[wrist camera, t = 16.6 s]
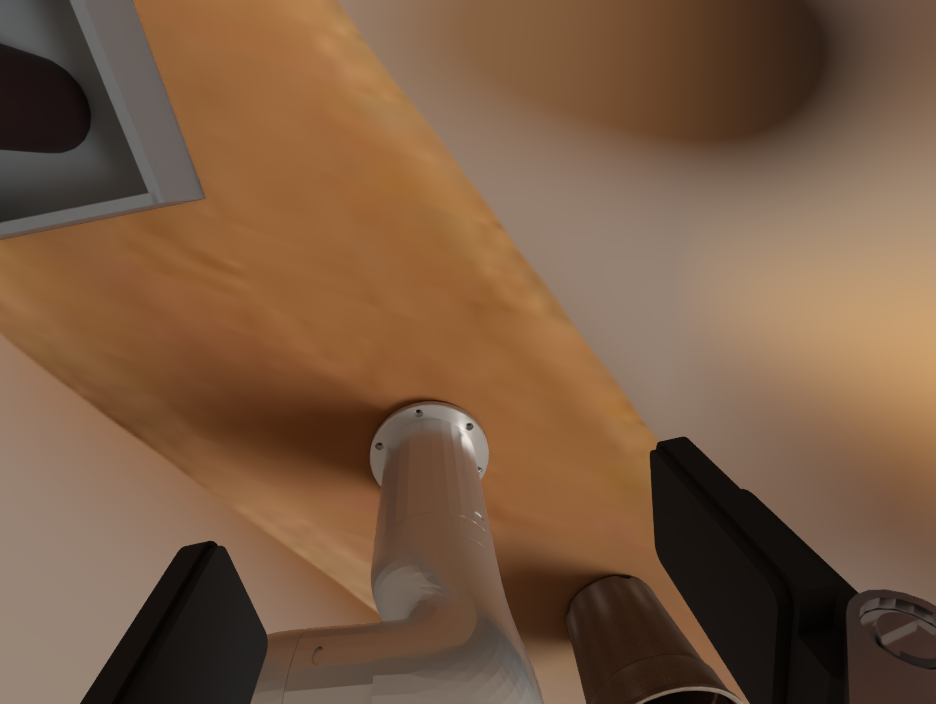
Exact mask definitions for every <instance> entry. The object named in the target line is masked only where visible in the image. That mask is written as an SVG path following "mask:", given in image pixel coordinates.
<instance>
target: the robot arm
mask: <svg viewBox="0 0 936 704" xmlns="http://www.w3.org/2000/svg"><path fill="white" fill-rule="evenodd" d="M416 410H420V411H416ZM467 423H470V424H467ZM488 458H489V451H488V443H487V440H486V436H485V434H484V432H483V429H482V427H481V426H480V425H479V423H478V422H477V421H476V419H474V418H473V417H472V416H471V415H470V414H469V413H468V412H466V411H464V410H463V409H461V408H459V407H457V406H454V405H451V404H449V403H444V402H438V401H424V402H419V403H413V404H411V405H408V406H405V407H402V408H401V409H399V410H397V411H395V412H394V413H392V414H391V415H390V416H389V417H388V418H386V419H385V420H384V421H383V423H382V424H381V425H380V426H379V428H378V429H377V431H376V433H375V435H374V437H373V441H372V445H371V450H370V466H371V469H372V473H373V476H374V477H375V479H376V481H377V483H378V484H379V485H380V487H381V492H380V500H379V509H378V517H377V525H376V533H375V541H374V550H373V558H372V567H371V588H372V594H373V598H374V601H375V604H376V607H377V610H378V612H379V614H380V616H381V618H382V620H383V621H381V622H380V623H369V624H368V623H367V624H355V625H342V626H330V627H316V628H308V629H298V630H289V631H282V632H276V633H272V634H268V635H267V634H266V632H265V629H264V627H263V625H262V623H261V621H260V619H259V617H258V615H257V613H256V611H255V609H254V607H253V604H252V602H251V600H250V598H249V596H248V594H247V592H246V590H245V588H244V586H243V583H242V582H241V579H240V577H239V575H238V573H237V571H236V569H235V567H234V565H233V562H232V560H231V558H230V556H229V554H228V552H227V550H226V549H225V547H223V546H218V545H217V544H216V543H215V542H214V541H207V542H203V543H198V544H193V545H189V546H184V547H182V548H181V549H180V550H179V551H178V553H177V554H176V556H175V557H174V559H173V560H172V562H171V563H170V565H169V567H168V568H167V570H166V571H165V573H164V574H163V576H162V577H161V579H160V581H159V582H158V584H157V585H156V587H155V588H154V590H153V591H152V593H151V594H150V596H149V597H148V599H147V601H146V602H145V604H144V605H143V607H142V609H141V610H140V611H139V613H138V614H137V616H136V618H135V619H134V621H133V622H132V624H131V626H130V627H129V628H128V630H127V632H126V633H125V635H124V636H123V638H122V639H121V641H120V643H119V644H118V646H117V647H116V649H115V650H114V652H113V653H112V655H111V656H110V658H109V660H108V661H107V663H106V664H105V666H104V667H103V669H102V670H101V672H100V673H99V675H98V677H97V678H96V680H95V681H94V683H93V685H92V686H91V688H90V689H89V691H88V692H87V694H86V695H85V697H84V698H83V700H82V702H81V703H80V704H544V703H543V698H542V694H541V690H540V687H539V683H538V680H537V678H536V675H535V672H534V669H533V666H532V664H531V661H530V659H529V656H528V654H527V652H526V649H525V647H524V645H523V642H522V640H521V638H520V635H519V633H518V630H517V628H516V626H515V623H514V621H513V618H512V615H511V612H510V609H509V606H508V603H507V600H506V596H505V593H504V589H503V585H502V581H501V577H500V573H499V568H498V564H497V559H496V554H495V549H494V544H493V539H492V534H491V530H490V525H489V520H488V515H487V510H486V505H485V500H484V496H483V491H482V486H481V481H480V480H481V479H482V477H483V475H484V473H485V471H486V468H487V465H488ZM650 468H651V486H652V503H653V520H654V538H655V548H656V552H657V555H658V558H659V560H660V562H661V564H662V565H663V567H664V568H665V570H666V572H667V573H668V575H669V576H670V578H671V580H672V581H673V583H674V584H675V586H676V587H677V589H678V591H679V592H680V594H681V595H682V597H683V599H684V600H685V602H686V603H687V605H688V606H689V608H690V610H691V611H692V613H693V614H694V616H695V617H696V619H697V621H698V622H699V624H700V625H701V627H702V629H703V630H704V632H705V633H706V635H707V636H708V638H709V640H710V641H711V643H712V644H713V646H714V648H715V649H716V651H717V652H718V654H719V655H720V657H721V659H722V660H723V662H724V663H725V665H726V667H727V668H728V670H729V671H730V673H731V674H732V676H733V678H734V679H735V681H736V682H737V684H738V685H739V687H740V689H741V690H742V692H743V693H744V695H745V697H746V698H747V700H748V701H749V703H750V704H936V606H935V605H933V604H931V603H930V602H928V601H926V600H924V599H921V598H918V597H915V596H912V595H909V594H907V593H903V592H897V591H892V590H885V589H881V590H867V591H864V592H861V593H858V592H857V591H856V590H855V589H854V588H852V587H851V586H850V585H849V584H848V583H847V582H846V581H845V580H844V579H843V578H842V577H841V576H840V575H839V574H838V573H837V572H836V571H834V570H833V569H832V568H831V567H830V566H829V565H828V564H827V563H826V562H825V561H824V560H823V559H822V558H821V557H820V556H819V555H817V554H816V553H815V552H814V551H813V550H812V549H811V548H810V547H809V546H808V545H807V544H806V543H805V542H804V541H803V540H802V539H800V538H799V537H798V536H797V535H796V534H795V533H794V532H793V531H792V530H791V529H790V528H789V527H788V526H787V525H786V524H784V523H783V522H782V521H781V520H780V519H779V518H778V517H777V516H776V515H775V514H774V513H773V512H772V511H771V510H770V509H769V508H767V507H766V506H765V505H764V504H763V503H762V502H761V501H760V500H759V499H758V498H757V497H756V496H755V495H753V494H752V493H751V492H749V491H748V490H745V489H740V488H739V487H738V486H737V485H736V484H735V483H734V482H733V481H732V480H731V479H730V478H729V477H728V476H727V475H726V474H724V473H723V472H722V471H721V470H720V469H719V468H718V467H717V466H716V465H715V464H714V463H713V462H712V461H711V460H710V459H709V458H708V457H707V456H706V455H705V454H704V453H703V452H702V451H701V450H699V448H697V447H696V446H695V445H694V444H693V443H692V442H691V441H690V440H689V439H688V438H686V437H679V438H675V439H670V440H665V441H660V442H658V443H657V446H656V450H652V451H651V452H650Z"/></svg>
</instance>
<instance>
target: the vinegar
mask: <svg viewBox="0 0 936 704" xmlns="http://www.w3.org/2000/svg"><path fill="white" fill-rule="evenodd" d="M90 124H91V111H90V107H89V103H88V99H87V97H86V95H85V94H84V92H83V90H82V88H81V86H80V85H79V83H78V82H77V81H76V80H75V79H74V78H73V77H72V76H71V75H70V74H69V73H68V71H66V70H65V69H64V68H62V67H61V66H59V65H58V64H56V63H54V62H53V61H51V60H49V59H46V58H43V57H40V56H38V55H35V54H32V53H28V52H25V51H22V50H19V49H16V48H13V47H10V46H7V45H4V44H1V43H0V150H8V151H21V152H35V153H64V152H67V151H69V150H72V149H75V148H76V147H77V146H79V145H80V144H81V143H82V142H83V141H84V140H85V138H86V136H87V134H88V132H89V130H90Z"/></svg>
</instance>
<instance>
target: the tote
mask: <svg viewBox="0 0 936 704" xmlns="http://www.w3.org/2000/svg"><path fill="white" fill-rule="evenodd" d="M0 43H1V44H4V45H7V46H10V47H13V48H16V49H19V50H22V51H25V52H28V53H32V54H35V55H38V56H40V57H43V58H46V59H49V60H51V61H53V62H54V63H56V64H58V65H59V66H61V67H62V68H64V69H65V70H66V71H68V73H69V74H70V75H71V76H72V77H73V78H74V79H75V80H76V81H77V82H78V83H79V85H80V86H81V88H82V90H83V92H84V94H85V95H86V97H87V99H88V103H89V107H90V111H91V124H90V130H89V132H88V134H87V136H86V138H85V140H84V141H83V142H82V143H81V144H80V145H79V146H77V147H76V148H75V149H72V150H69V151H67V152H64V153H35V152H21V151H8V150H0V240H2V239H7V238H12V237H17V236H22V235H27V234H32V233H37V232H41V231H46V230H51V229H56V228H61V227H66V226H71V225H76V224H81V223H86V222H91V221H96V220H101V219H106V218H111V217H116V216H121V215H126V214H131V213H136V212H141V211H146V210H151V209H156V208H161V207H166V206H171V205H176V204H181V203H186V202H191V201H196V200H201V199H206V198H205V195H204V193H203V190H202V187H201V185H200V182H199V179H198V176H197V174H196V171H195V168H194V166H193V163H192V160H191V158H190V155H189V152H188V149H187V147H186V144H185V141H184V139H183V136H182V133H181V131H180V128H179V125H178V122H177V120H176V117H175V114H174V112H173V109H172V106H171V104H170V101H169V98H168V96H167V93H166V90H165V87H164V85H163V82H162V79H161V77H160V74H159V71H158V69H157V66H156V63H155V60H154V58H153V55H152V52H151V50H150V47H149V44H148V42H147V39H146V36H145V33H144V31H143V28H142V25H141V23H140V20H139V17H138V15H137V12H136V9H135V6H134V4H133V1H132V0H0Z"/></svg>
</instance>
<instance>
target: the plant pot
mask: <svg viewBox="0 0 936 704" xmlns="http://www.w3.org/2000/svg"><path fill="white" fill-rule="evenodd" d="M566 623H567V628H568V631H569V635H570V639H571V642H572V646H573V650H574V654H575V658H576V663H577V667H578V671H579V675H580V679H581V683H582V687H583V692H584V696H585V700H586V704H743V702H742V701H741V700H740V699H739V698H738V697H737V696H736V695H735V694H734V693H732V692H730V691H729V690H728V689H727V688H726V686H725V685H724V684H723V682H722V681H721V680H720V678H719V677H718V676H717V674H716V673H715V671H714V670H713V669H712V668H711V667H710V666H709V665H707V664H706V663H704V661H703V660H702V659H701V657H700V656H699V654H698V653H697V652H696V650H695V649H694V648H693V646H692V645H691V644H690V642H689V641H688V640H687V638H686V637H685V636H684V634H683V633H682V632H681V630H680V629H679V627H678V626H677V625H676V623H675V622H674V620H673V619H672V618H671V616H670V615H669V613H668V612H667V611H666V609H665V608H664V607H663V605H662V604H661V602H660V601H659V599H658V598H657V597H656V595H655V594H654V592H653V591H652V590H651V588H650V587H649V586H648V585H647V584H646V583H644V582H643V581H641V580H640V579H637V578H634V577H630V578H629V579H627V578H622V577H619V576H611V577H607V578H603V579H600V580H598V581H596V582H593V583H592V584H590V585H588V586H587V587H585V588H584V589H583V590H581V591H580V592H579V593H578V594H577V595H576V596H575V598H574V599H573V600H572V602H571V605H570V610H569V613H568V614H567V616H566Z"/></svg>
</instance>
